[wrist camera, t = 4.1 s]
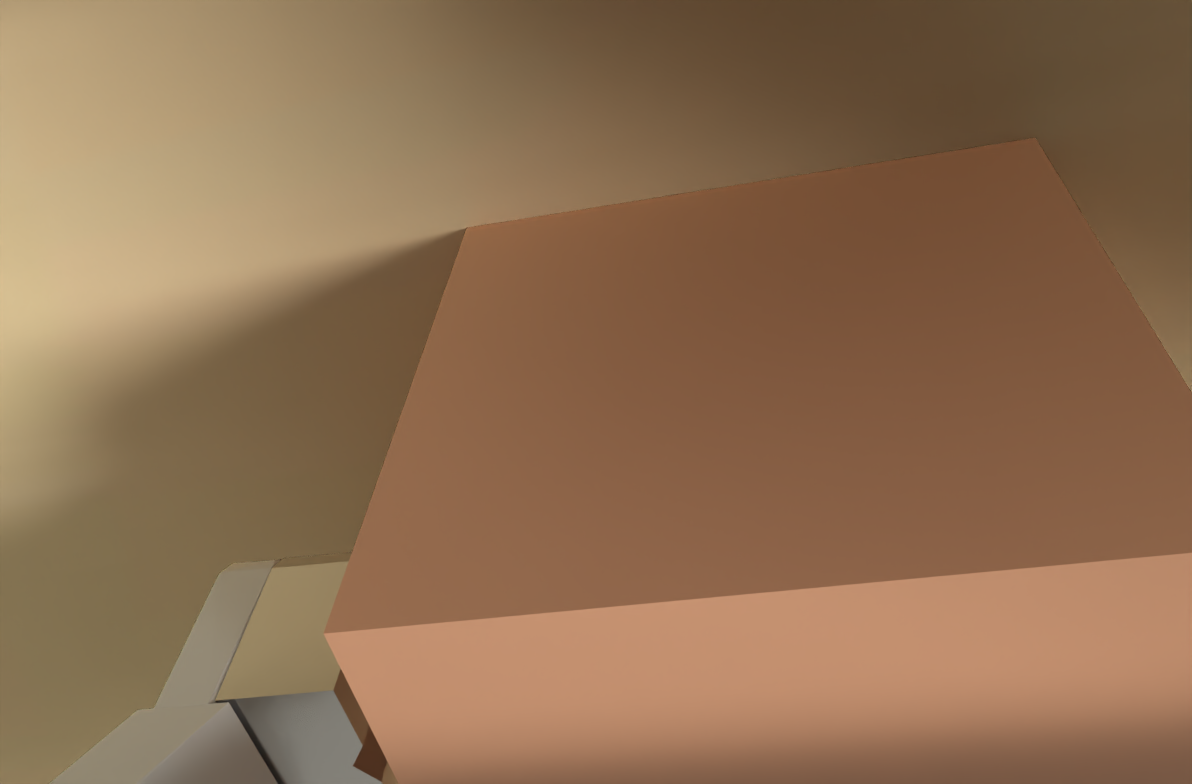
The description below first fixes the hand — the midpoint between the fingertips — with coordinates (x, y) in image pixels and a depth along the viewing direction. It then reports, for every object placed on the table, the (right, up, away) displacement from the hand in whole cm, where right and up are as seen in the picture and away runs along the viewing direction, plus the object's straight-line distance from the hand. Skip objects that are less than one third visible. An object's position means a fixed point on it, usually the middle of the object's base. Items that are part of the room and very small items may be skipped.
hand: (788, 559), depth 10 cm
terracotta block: (0, +1, +2) cm, 2 cm away
